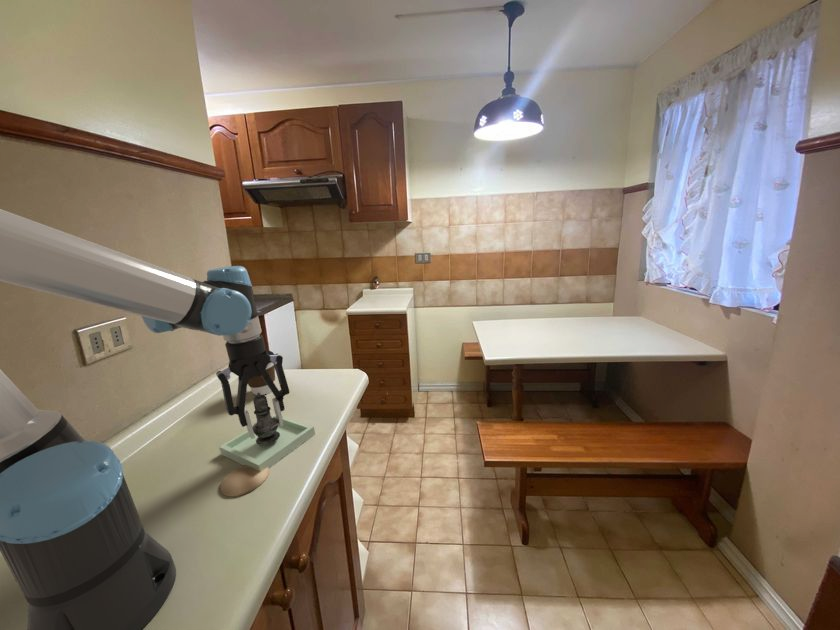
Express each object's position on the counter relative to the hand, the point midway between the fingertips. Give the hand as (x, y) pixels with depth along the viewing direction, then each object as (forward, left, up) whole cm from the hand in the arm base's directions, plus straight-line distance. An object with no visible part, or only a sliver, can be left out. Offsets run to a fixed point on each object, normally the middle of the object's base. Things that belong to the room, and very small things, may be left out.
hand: (266, 429), depth 81 cm
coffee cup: (+17, +27, -4) cm, 32 cm away
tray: (0, 0, -4) cm, 4 cm away
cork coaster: (-10, -6, -4) cm, 12 cm away
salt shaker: (0, 0, -2) cm, 2 cm away
